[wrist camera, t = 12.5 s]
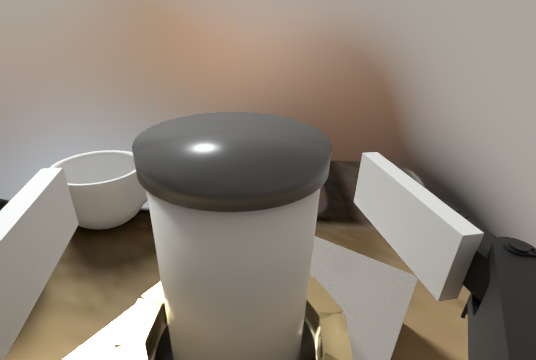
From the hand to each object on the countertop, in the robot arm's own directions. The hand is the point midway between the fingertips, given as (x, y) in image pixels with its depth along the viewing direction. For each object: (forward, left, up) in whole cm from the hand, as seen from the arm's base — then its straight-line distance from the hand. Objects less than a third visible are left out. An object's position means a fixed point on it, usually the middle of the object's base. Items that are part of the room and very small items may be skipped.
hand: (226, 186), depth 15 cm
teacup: (+5, +18, -11) cm, 21 cm away
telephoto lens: (-2, -2, -6) cm, 7 cm away
